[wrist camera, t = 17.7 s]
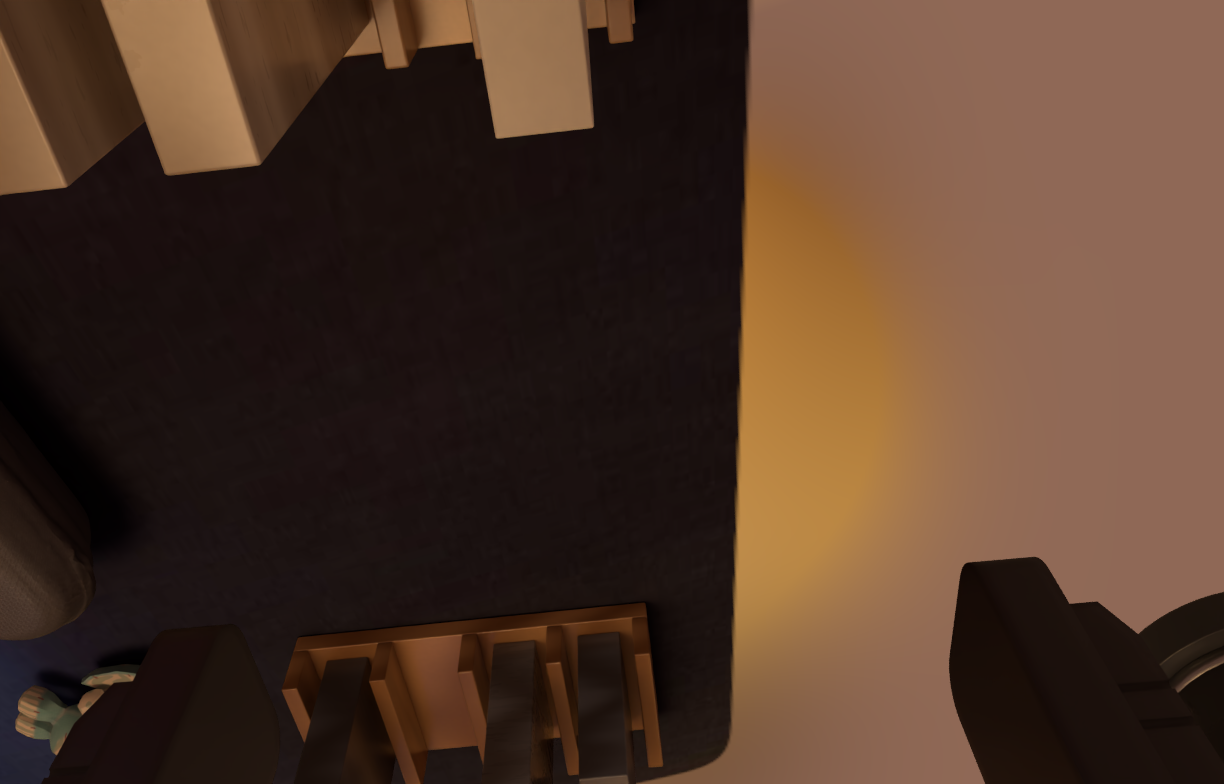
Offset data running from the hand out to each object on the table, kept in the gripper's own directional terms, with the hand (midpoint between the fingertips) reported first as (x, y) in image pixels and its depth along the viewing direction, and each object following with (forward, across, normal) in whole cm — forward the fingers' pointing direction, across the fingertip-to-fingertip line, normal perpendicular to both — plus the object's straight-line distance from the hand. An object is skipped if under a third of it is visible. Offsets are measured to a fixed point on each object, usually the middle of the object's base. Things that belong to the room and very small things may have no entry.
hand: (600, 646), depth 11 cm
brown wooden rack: (+29, +9, +33) cm, 45 cm away
